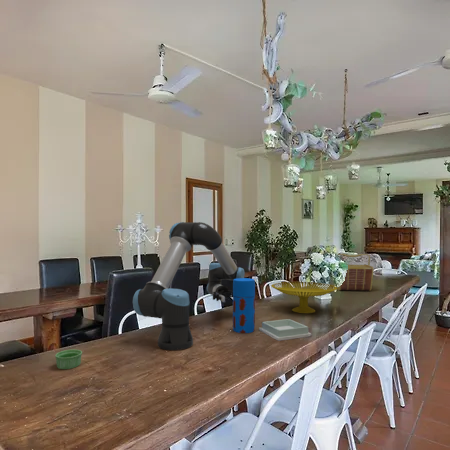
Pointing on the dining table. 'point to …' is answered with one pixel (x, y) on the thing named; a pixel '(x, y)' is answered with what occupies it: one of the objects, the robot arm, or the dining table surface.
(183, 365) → the dining table surface
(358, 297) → the dining table surface
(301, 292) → the yellow pedestal fruit bowl
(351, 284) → the picnic basket
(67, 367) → the ramekin
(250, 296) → the leaf-print tea canister
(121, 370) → the dining table surface
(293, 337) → the holder
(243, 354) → the dining table surface
